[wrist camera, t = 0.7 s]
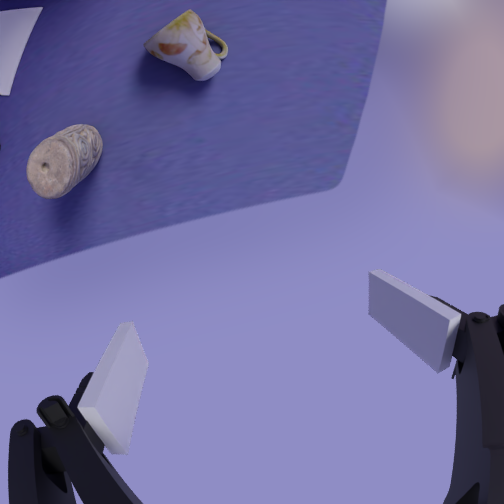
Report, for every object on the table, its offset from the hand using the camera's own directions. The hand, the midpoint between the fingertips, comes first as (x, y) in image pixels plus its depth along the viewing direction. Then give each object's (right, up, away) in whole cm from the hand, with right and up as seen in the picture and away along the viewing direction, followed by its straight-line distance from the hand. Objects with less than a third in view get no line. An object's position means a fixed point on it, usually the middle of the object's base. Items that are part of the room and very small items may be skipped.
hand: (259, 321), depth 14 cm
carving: (-23, +17, +16) cm, 33 cm away
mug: (-8, +29, +14) cm, 33 cm away
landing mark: (-38, +33, +3) cm, 50 cm away
